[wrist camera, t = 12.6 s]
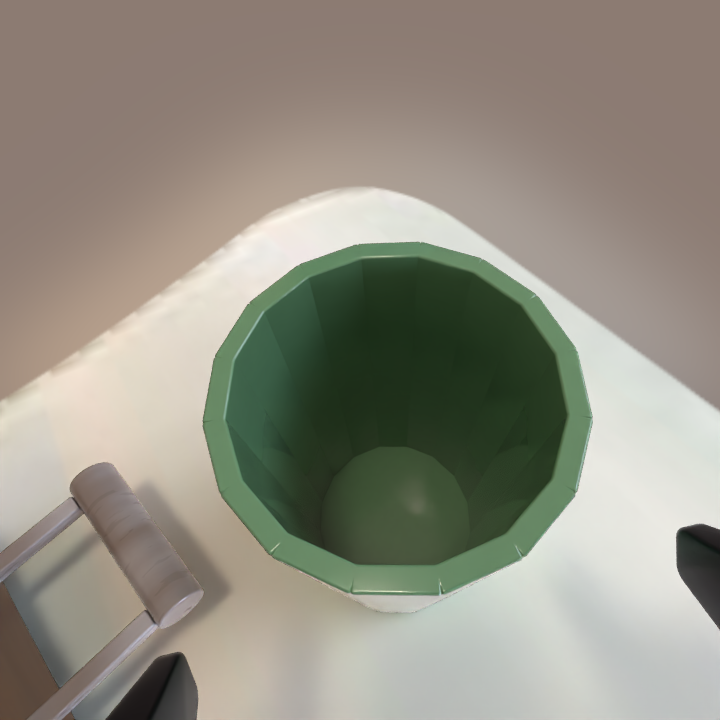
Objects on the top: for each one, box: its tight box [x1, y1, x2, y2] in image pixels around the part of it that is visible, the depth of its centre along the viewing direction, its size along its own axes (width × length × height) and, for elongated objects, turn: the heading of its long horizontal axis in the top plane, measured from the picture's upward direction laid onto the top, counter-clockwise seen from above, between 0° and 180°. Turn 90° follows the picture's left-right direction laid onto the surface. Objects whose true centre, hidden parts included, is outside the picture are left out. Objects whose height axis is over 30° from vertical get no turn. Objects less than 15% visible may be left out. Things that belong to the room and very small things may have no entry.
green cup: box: [203, 242, 593, 613], centre depth 14 cm, size 6×6×12 cm
